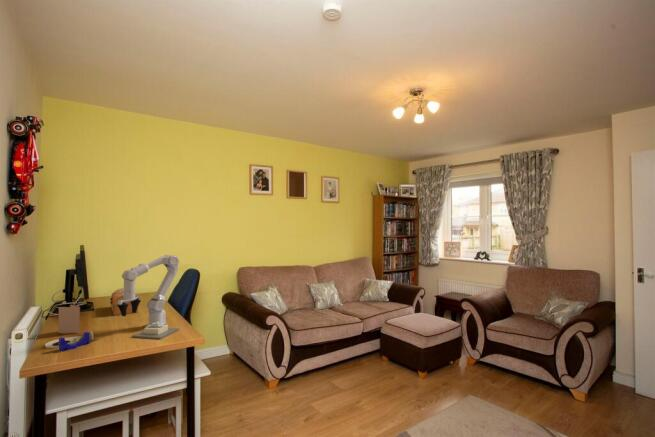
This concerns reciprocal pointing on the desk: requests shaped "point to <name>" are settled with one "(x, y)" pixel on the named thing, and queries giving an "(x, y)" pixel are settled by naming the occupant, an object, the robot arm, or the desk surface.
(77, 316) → the greeting card
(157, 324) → the block
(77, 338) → the light piece
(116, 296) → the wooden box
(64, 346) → the blue cradle holder
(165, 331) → the pocket plate
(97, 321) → the desk surface
